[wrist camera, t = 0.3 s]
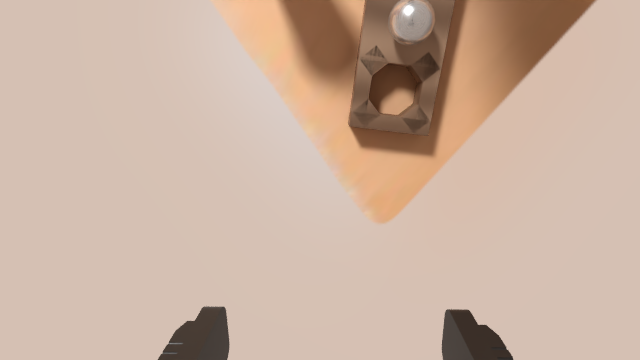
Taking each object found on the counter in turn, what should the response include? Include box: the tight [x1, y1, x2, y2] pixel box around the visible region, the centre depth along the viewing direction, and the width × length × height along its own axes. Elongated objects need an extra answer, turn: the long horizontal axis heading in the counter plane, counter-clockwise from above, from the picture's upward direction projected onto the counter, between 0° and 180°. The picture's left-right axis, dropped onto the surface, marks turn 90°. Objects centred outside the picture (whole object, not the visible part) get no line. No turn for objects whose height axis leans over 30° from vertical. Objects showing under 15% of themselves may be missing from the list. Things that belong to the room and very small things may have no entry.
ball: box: [388, 0, 435, 46], centre depth 31 cm, size 4×4×4 cm
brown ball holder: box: [348, 0, 455, 136], centre depth 35 cm, size 17×8×2 cm, turn 173°
